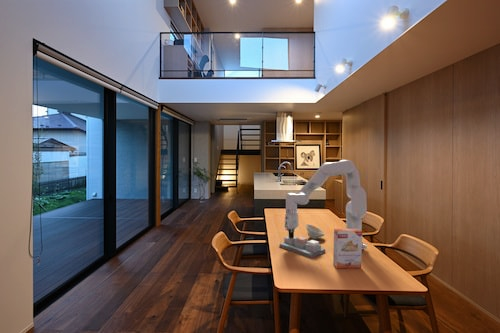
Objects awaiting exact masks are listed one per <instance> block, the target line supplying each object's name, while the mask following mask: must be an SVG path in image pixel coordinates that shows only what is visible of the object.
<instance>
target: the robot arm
mask: <svg viewBox="0 0 500 333" xmlns="http://www.w3.org/2000/svg"><path fill="white" fill-rule="evenodd" d="M340 175H341V176H342V175H344V176H345V179H346V181H345V182H346V186H345V187H346V195H347V197H348V198H349V199H350V201H348V202H346V205H345V215H346V217H345V218H346V220H345V221H346V226H345V227H346V228H345V229H359V230H360V231H362V224H363V222H362V218H364V217H365V216H366V215H367V211H368V205H367V203H368V202H367V193H366V191H365V189H364V188H363V187H362V186H361V179H360V173H359V170H358V169H357V168H356V166H355V163H354V162H353V161H352V160H350V159H341V160H339V161H334V162H327V161H326V162H324V163H322V164H321V165H320V167H318V169H317V170H316V172H315V173H314V174H312V176H311V177H310V179H308V181H307V182H305V184H304V185H303V186H302V187H301V189H300V190H299V191H298V193H295V192H288V193H286V194H285V215H284V228H285V230H286V231H287V232H288V236H289V237H290V238H294V237H295V233H294V232H295V230H296V229H297V228H298V227H299V213H298V205H302V206H304V205H307V204H308V203H309V202H310V195H311V194H312V193H314V191H315V190H317V189H320V188H321V186H323V185H324V184H325V182H326V181H327V180H328V178H329V177H331V176H333V177H334V176H340ZM367 248H368V245H367V244H364V241H362V250H364V249H365V250H366V249H367Z"/></svg>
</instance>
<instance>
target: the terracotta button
mask: <svg viewBox="0 0 500 333" xmlns="http://www.w3.org/2000/svg"><path fill="white" fill-rule="evenodd" d="M296 241H297V242H300V243H305V242H307V241H308V237H304V236H297V238H296Z"/></svg>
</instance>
